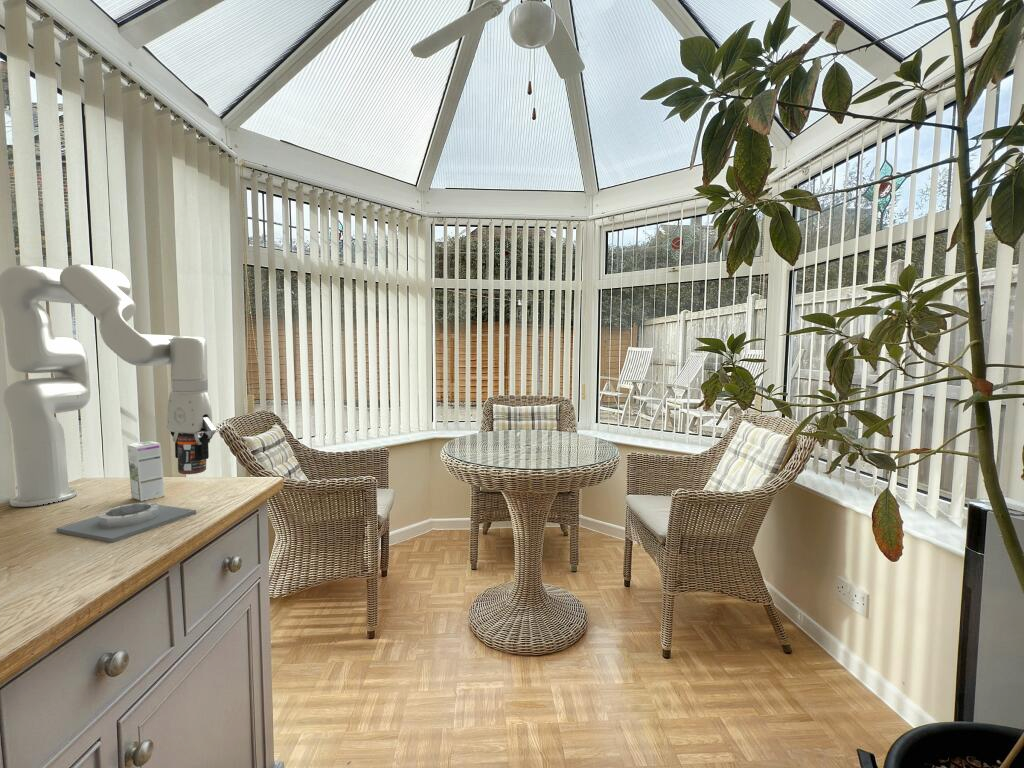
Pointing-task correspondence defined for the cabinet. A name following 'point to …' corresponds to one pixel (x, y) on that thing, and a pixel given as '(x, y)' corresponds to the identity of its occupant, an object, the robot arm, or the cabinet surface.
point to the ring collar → (117, 520)
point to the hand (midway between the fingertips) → (192, 457)
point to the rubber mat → (112, 534)
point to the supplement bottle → (189, 455)
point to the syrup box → (146, 470)
